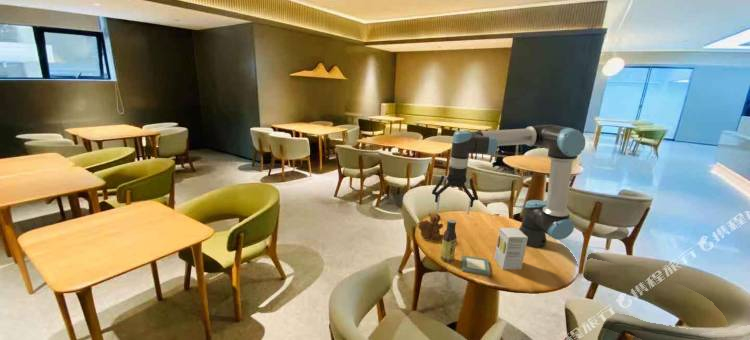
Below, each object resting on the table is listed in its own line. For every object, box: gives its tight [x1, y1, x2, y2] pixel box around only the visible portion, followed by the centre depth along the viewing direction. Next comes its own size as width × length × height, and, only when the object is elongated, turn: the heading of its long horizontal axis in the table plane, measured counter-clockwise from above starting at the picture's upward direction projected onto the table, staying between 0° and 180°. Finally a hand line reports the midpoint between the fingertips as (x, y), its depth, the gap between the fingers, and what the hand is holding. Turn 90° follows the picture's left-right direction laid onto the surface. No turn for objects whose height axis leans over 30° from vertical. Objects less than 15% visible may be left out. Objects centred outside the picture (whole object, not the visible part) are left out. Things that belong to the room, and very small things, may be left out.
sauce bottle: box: [440, 219, 458, 263], centre depth 145 cm, size 6×6×20 cm
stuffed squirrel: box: [417, 212, 444, 241], centre depth 167 cm, size 10×14×13 cm
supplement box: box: [494, 227, 528, 270], centre depth 144 cm, size 10×9×17 cm
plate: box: [461, 254, 491, 277], centre depth 143 cm, size 12×12×1 cm
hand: (452, 211), depth 141 cm, fingers open, 13 cm apart
